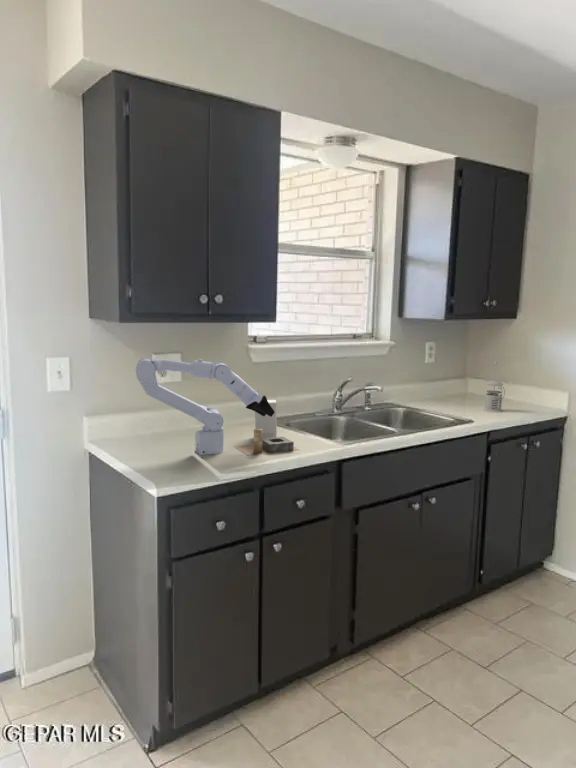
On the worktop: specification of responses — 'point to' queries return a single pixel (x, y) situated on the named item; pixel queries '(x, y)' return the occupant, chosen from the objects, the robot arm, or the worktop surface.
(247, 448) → the socket board
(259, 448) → the birch peg
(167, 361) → the robot arm
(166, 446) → the worktop surface
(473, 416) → the worktop surface
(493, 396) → the french press
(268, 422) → the skincare box
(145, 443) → the worktop surface
